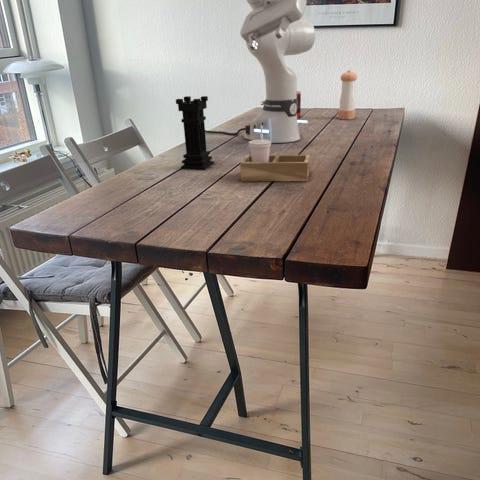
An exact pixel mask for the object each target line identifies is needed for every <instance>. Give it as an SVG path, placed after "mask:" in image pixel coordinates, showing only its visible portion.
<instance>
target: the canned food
mask: <svg viewBox="0 0 480 480" xmlns="http://www.w3.org/2000/svg"><path fill="white" fill-rule="evenodd" d="M301 97H302V93H301V91H300V90H297V99H298V109H297V119H300V118H301V101H302V100H301V99H302V98H301Z"/></svg>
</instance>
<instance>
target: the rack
mask: <svg viewBox="0 0 480 480" xmlns="http://www.w3.org/2000/svg"><path fill="white" fill-rule="evenodd" d="M310 164H311V155H310V154H269V162H252V158H251V154H246V155H244V157H243V159H242V160H241V161H240V163H239V167H240V182H308V180H309V176H310V166H311V165H310Z"/></svg>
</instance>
